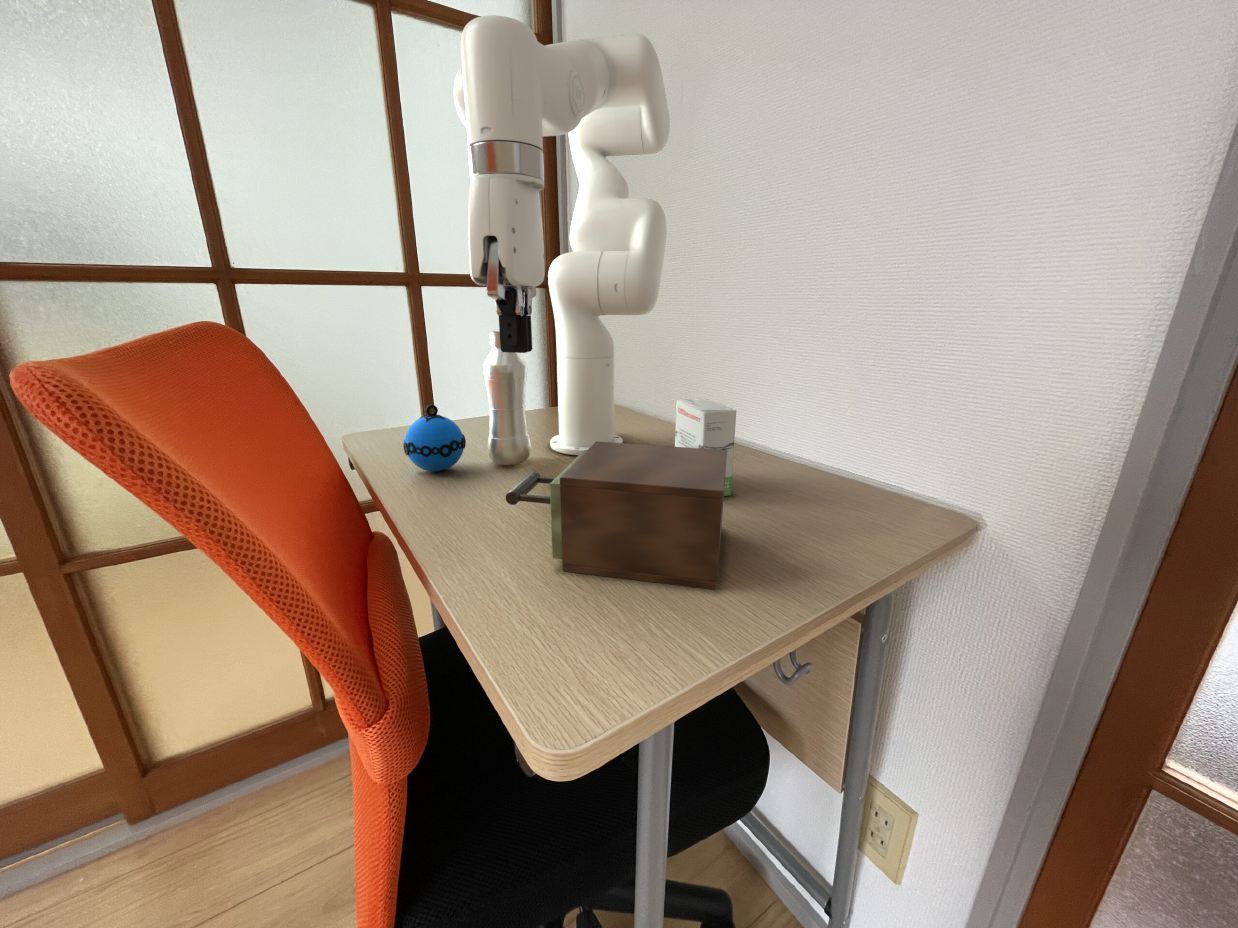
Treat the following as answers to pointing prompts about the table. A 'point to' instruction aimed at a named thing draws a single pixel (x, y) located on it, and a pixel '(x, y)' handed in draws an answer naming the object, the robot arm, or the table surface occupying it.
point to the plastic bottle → (506, 405)
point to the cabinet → (644, 513)
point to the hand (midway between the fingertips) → (516, 351)
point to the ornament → (434, 442)
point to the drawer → (544, 501)
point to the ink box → (707, 429)
